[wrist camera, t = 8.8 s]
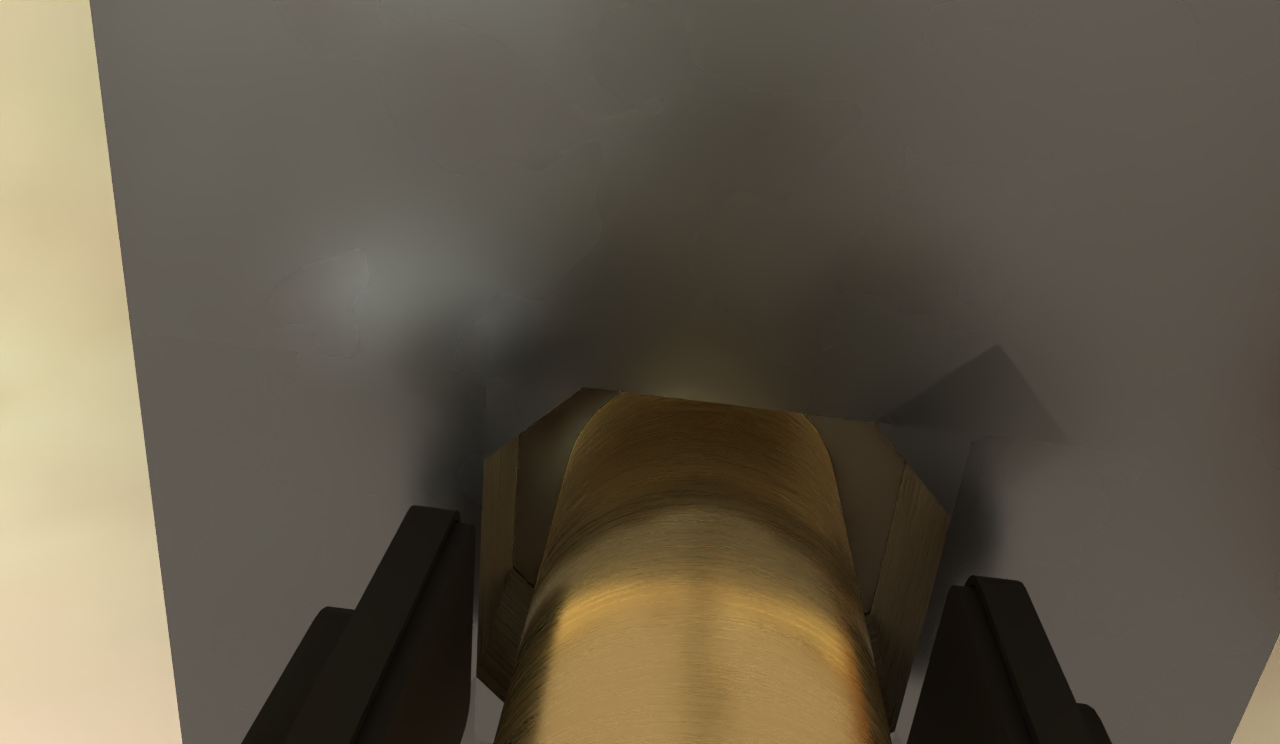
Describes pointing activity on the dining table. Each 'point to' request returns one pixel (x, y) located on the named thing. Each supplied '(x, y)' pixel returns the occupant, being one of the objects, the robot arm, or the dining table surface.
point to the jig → (714, 301)
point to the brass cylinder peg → (695, 589)
